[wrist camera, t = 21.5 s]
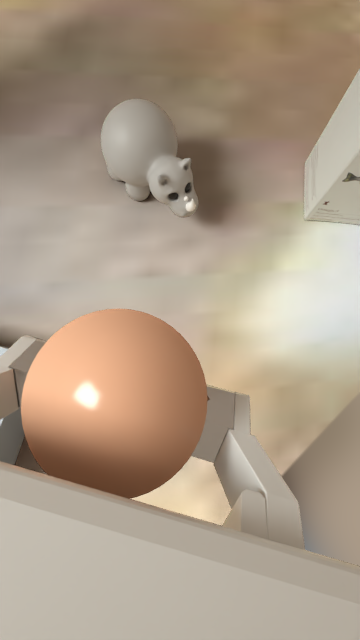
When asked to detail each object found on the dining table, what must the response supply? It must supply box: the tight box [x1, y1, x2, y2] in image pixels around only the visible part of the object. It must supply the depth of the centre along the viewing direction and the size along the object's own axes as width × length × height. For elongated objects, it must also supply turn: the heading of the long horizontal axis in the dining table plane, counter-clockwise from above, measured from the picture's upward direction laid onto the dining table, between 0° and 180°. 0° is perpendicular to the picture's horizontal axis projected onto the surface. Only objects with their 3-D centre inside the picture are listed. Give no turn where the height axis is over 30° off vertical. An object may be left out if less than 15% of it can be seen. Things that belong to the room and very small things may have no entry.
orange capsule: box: [21, 309, 207, 499], centre depth 12 cm, size 5×5×8 cm
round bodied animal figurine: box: [101, 99, 198, 217], centre depth 30 cm, size 7×12×8 cm, turn 36°
